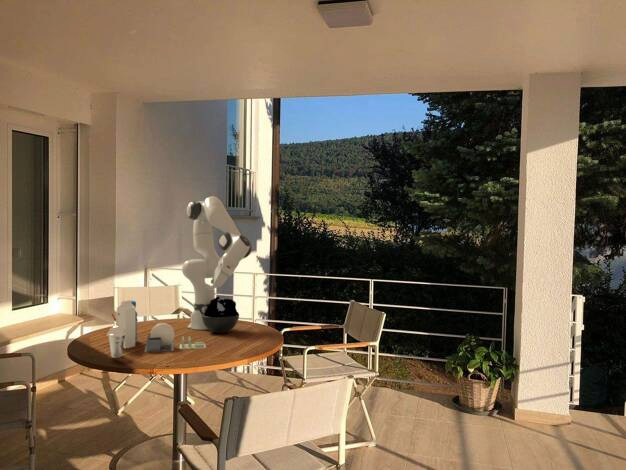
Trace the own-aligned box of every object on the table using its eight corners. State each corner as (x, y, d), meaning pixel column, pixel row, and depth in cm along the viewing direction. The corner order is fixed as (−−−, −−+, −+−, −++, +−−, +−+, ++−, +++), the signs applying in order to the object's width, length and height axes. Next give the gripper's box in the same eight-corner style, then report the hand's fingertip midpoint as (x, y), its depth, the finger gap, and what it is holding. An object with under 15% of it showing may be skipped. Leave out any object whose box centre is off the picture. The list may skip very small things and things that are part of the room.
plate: (149, 345, 247) (151, 322, 247) (173, 347, 249) (175, 323, 249) (148, 346, 245) (151, 323, 245) (173, 348, 247) (175, 324, 247)
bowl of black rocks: (235, 337, 276) (236, 301, 275) (197, 336, 276) (198, 300, 276) (241, 329, 296) (242, 296, 295) (206, 328, 296) (206, 295, 296)
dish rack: (146, 346, 253) (146, 333, 253) (174, 345, 256) (174, 332, 256) (144, 354, 238) (144, 340, 238) (173, 353, 241) (174, 339, 241)
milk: (116, 347, 250) (116, 301, 249) (126, 344, 255) (126, 299, 255) (125, 349, 247) (125, 302, 246) (135, 346, 252) (135, 300, 252)
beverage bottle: (131, 344, 257) (131, 303, 256) (115, 343, 258) (116, 302, 258) (140, 340, 265) (140, 300, 265) (125, 339, 267) (125, 299, 266)
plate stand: (179, 346, 254) (179, 336, 253) (205, 345, 256) (205, 335, 256) (179, 351, 245) (179, 340, 245) (205, 350, 248) (206, 339, 247)
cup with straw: (129, 354, 238) (129, 310, 237) (122, 359, 229) (123, 313, 228) (110, 353, 238) (110, 309, 237) (103, 359, 228) (103, 313, 228)
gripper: (222, 254, 271) (207, 275, 273) (221, 268, 251) (205, 290, 253) (232, 261, 273) (217, 282, 275) (232, 275, 253) (216, 297, 255)
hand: (211, 286), depth 264 cm, fingers open, 8 cm apart
